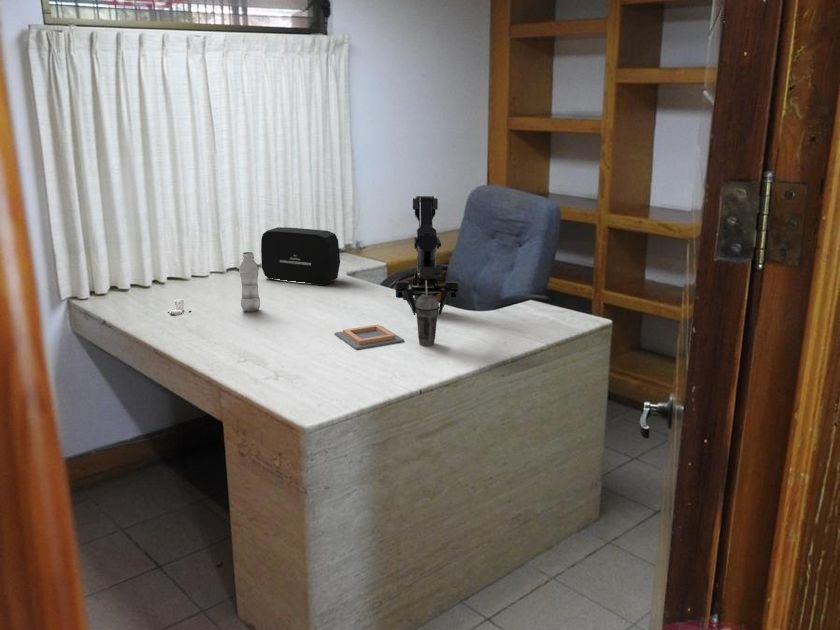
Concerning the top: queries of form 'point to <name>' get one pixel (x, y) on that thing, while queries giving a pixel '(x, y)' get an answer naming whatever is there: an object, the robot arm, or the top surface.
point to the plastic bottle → (249, 283)
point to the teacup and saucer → (178, 306)
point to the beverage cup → (426, 318)
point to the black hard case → (300, 255)
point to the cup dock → (368, 337)
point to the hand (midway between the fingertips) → (427, 314)
